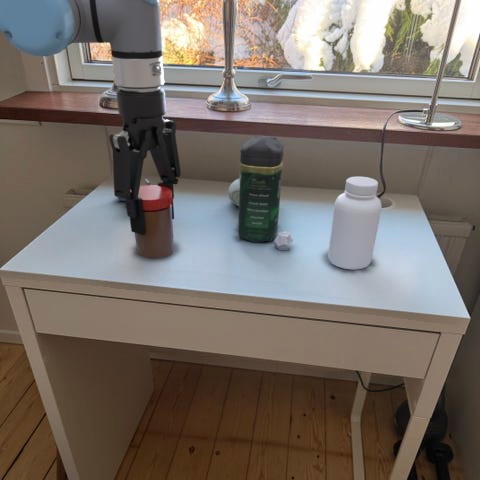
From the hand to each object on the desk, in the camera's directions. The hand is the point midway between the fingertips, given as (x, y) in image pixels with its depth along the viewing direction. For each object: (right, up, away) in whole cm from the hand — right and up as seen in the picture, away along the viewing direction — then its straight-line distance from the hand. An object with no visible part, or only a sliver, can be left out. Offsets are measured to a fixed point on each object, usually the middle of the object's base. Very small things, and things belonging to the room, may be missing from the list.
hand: (153, 224), depth 85 cm
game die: (+24, -4, +5) cm, 25 cm away
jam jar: (0, -4, +3) cm, 5 cm away
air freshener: (+19, +9, +22) cm, 30 cm away
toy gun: (-7, +8, +20) cm, 23 cm away
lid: (0, +5, -3) cm, 6 cm away
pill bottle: (+36, -7, +1) cm, 37 cm away
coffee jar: (+20, 0, +10) cm, 22 cm away
